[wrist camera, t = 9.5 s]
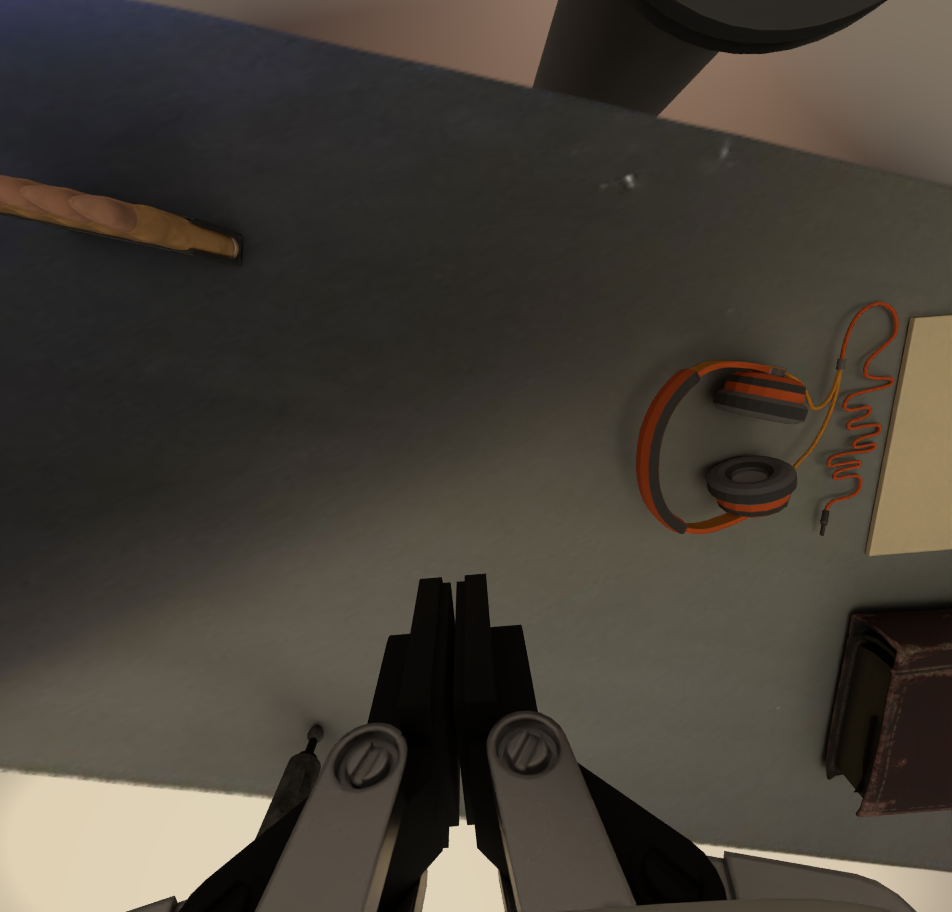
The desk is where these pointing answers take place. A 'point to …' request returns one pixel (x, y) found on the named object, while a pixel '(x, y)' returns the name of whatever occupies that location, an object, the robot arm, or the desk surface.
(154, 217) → the ammunition clip
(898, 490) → the flat square board
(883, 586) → the desk surface
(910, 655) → the diary
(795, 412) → the headphones
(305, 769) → the microphone
